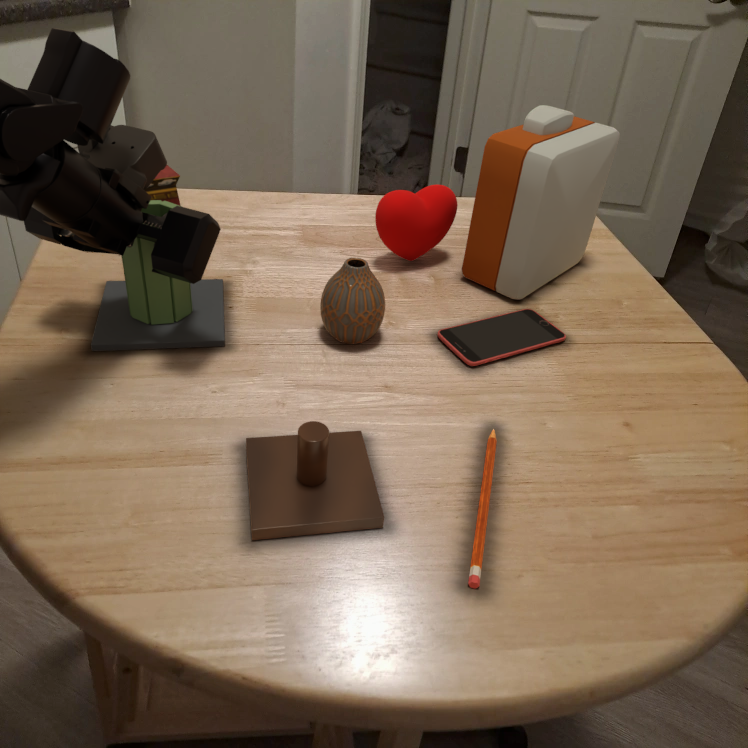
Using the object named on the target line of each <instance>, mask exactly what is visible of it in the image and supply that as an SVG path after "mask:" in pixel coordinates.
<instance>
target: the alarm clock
mask: <svg viewBox="0 0 748 748" xmlns="http://www.w3.org/2000/svg"><path fill="white" fill-rule="evenodd" d="M620 136H621V133H620V132H619V130H617V129H616V128H615V127H613V126H610V125H606V124H603V123H599V122H595V121H592V120H589V119H585V118H582V117H578V116H575V114H574V112H573V111H569V110H566V109H562V108H559V107H555V106H552V105H546V104H541V105H538V106H536V107H534V108H532V109H531V110H530V111H529V113H527V114H526V116H525V119H524V121H523V124H520V125H517V126H514V127H510V128H508V129H504V130H501V131H498V132H495V133H492V134H491V135H490V136H489V137H488V138H487V141H486V142H485V145H484V149H483V152H482V153H483V154H482V159H481V164H480V168H479V169H480V170H479V176H478V180H477V184H476V185H477V186H476V193H475V196H474V201H473V205H472V206H473V207H472V212H471V218H470V224H469V229H468V232H467V233H468V234H467V239H466V244H465V250H464V254H463V255H464V256H463V260H462V266H461V273H462V275H463V277H464V278H465V279H468V280H470V281H471V282H474V283H477V284H479V285H481V286H483V287H485V288H487V289H489V290H491V291H495V292H496V293H499V294H500V295H503V296H505V297H507V298H510V299H512V300H523V299H524V298H526V297H527V296H529V295H531V294H532V293H534V292H535V291H537V290H538V289H540V288H541V287H543V286H544V285H546V284H548V283H549V282H551V281H552V280H554V279H555V278H557V277H558V276H560V275H562V274H563V273H565V272H567V271H568V270H569V269H572V267H574V266H575V265H578V263H580V261H581V260H582V259H583V257H584V255H585V253H586V250H587V247H588V243H589V240H590V237H591V234H592V231H593V227H594V223H595V220H596V218H597V213H598V211H599V209H600V204H601V201H602V197H603V193H604V191H605V188H606V186H607V185H606V184H607V181H608V178H609V175H610V172H611V169H612V166H613V161H614V158H615V155H616V152H617V148H618V145H619V143H620Z"/></svg>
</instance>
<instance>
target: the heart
mask: <svg viewBox="0 0 748 748" xmlns="http://www.w3.org/2000/svg"><path fill="white" fill-rule="evenodd" d="M457 212H458V199H457V196H456V194H455V193H454V191H453V190H452V189H451V188H450V187H448V186H447V185H443V184H430V185H428V186H425V187H422V188H421V189H419V190H417V192H415V193H414V192H413V191H410V190H406V189H395V190H392V191H389V192H387V193H385V194H384V195H383V196H382V197H381V198H380V200H379V202H378V204H377V206H376V209H375V221H374V222H375V228H376V232H377V234H378V236H379V238H380V240H381V242H382V243H383V245H384V246H385V247H386V248H387V249H388V251H390V252H392V253H393V254H394V255H395V256H397V257H399V258H401V259H403V260H406V261H409V262H413V261H416V260H417V259H419V258H420V257H423V256H424V255H426V254H427V253H428V252H430V251H431V250H432V249H434V248H435V247H436V246H438V245H439V244H440V243H441V242H442V240H443V239H445V237H446V235H448V232H449V231H450V230H451V227H452V226H453V224H454V221H455V218H456V216H457Z"/></svg>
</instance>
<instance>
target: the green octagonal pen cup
mask: <svg viewBox="0 0 748 748" xmlns="http://www.w3.org/2000/svg"><path fill="white" fill-rule="evenodd" d="M176 206H179V205H176V204H173V203H171V202H168V201H161V200H150V202H149V205H148V207H147V209H144V208H142V210H141V212H144V213H148V214H151V215H155V216H159V217H162V216H163V215H164V214H166V213H168V211H169V210H170V209H172V208H174V207H176ZM181 207H183V206H182V205H181ZM143 224H144V223H143ZM146 225H147V224H146ZM150 226H151V225H150ZM154 227H155V226H154ZM157 228H158V227H157ZM154 243H155V242H151V241H148V240H144V239H141V238H137V237H136V238H135V240H134V244H133V246H132V247H131V248H128V247H126V250H125V252H124V255H123V256H121V261H122V270H123V276H124V281H125V283H126V290H127V296H128V303H129V310H130V315H131V316H132V318H135V319H137V320H139V321H142V322H144V323H146V324H149V323H151V325H154V324H167V323H174V321H176V322H178V321H179V320H181V319H183V318H184V317H186V316H187V315H189V314H191V312H192V311H193V310H192V298H191V285H190V283H188V282H185V281H182V280H178V279H175V278H171V277H168V276H164V275H161V274H158V273H154V272H152V269H153V268H152V260H151V253H152V251H153V248H154V247H153V246H154Z"/></svg>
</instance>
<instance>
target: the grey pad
mask: <svg viewBox="0 0 748 748" xmlns="http://www.w3.org/2000/svg"><path fill="white" fill-rule="evenodd" d="M190 285H191V298H192V310H193V311H192V312H191V314H189V315H187V316H186V317H184V318H183V319H181V320H179V321H178V322H176V321H174V323H167V324H154V325H151V323H149V324H146V323H144V322H142V321H139V320H137V319H135V318H132V316H131V315H130V310H129V303H128V296H127V290H126V283H125V280H106V281H105V285H104V290H103V295H102V297H101V298H102V299H101V302H100V305H99V306H100V307H99V310H98V314H97V318H96V323H95V327H94V331H93V335H92V338H91V343H90V349H91V351H92V352H106V351H107V352H108V351H109V352H110V351H133V350H134V351H135V350H137V351H138V350H159V349H160V350H161V349H187V348H189V349H190V348H215V347H216V348H217V347H225V346H226V335H225V334H226V332H225V331H226V329H225V327H226V326H225V302H224V301H225V300H224V279H223V278H212V279H210V278H209V279H207V278H206V279H205V278H204V279H203V278H202V279H201V280H200V281H198V282H196V283H195V284H192V283H190Z"/></svg>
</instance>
